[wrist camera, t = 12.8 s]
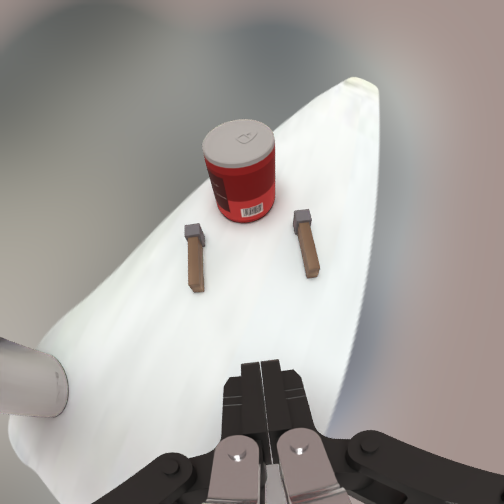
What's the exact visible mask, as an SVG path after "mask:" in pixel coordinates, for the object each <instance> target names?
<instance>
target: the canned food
mask: <svg viewBox="0 0 504 504" xmlns="http://www.w3.org/2000/svg"><path fill="white" fill-rule="evenodd" d="M203 153H204V158H205V162H206V166H207V170H208V173H209V177H210V181H211V184H212V188H213V191H214V195H215V198H216V202H217V205H218V208H219V210H220V211H221V212H222V214H223V215H224V216H225V217H227V218H228V219H230V220H232V221H235V222H241V223H246V222H252V221H255V220H258V219H260V218H262V217H263V216H265V215H266V214H267V213H268V212H269V210H270V209H271V207H272V205H273V203H274V200H275V140H274V134H273V132H272V130H271V129H270V128H269V127H268V126H267V125H265V124H263V123H261V122H258V121H255V120H249V119H240V120H233V121H229V122H226V123H223V124H221V125H219V126H217V127H215V128H214V129H212V130H211V131H210V132H209V133H208V134H207V136H206V137H205V139H204V141H203Z"/></svg>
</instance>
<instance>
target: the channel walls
mask: <svg viewBox="0 0 504 504" xmlns="http://www.w3.org/2000/svg"><path fill="white" fill-rule="evenodd" d="M298 239H299V243H300V248H301V252H302V257H303V262H304V267H305V271H306V276H307V278H313V277H317V275H318V272H319V270H320V265H319V261H318V257H317V253H316V248H315V244H314V240H313V236H312V232H311V228H310V224H309V222H305V223H299V227H298ZM188 285H189V286H190V288H191V289H192V290H193V292H194V293H195V292H204V278H203V251H202V245H201V242H200V240H199V238H198V236H197V237H190V238H188Z"/></svg>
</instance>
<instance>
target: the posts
mask: <svg viewBox="0 0 504 504" xmlns="http://www.w3.org/2000/svg"><path fill="white" fill-rule="evenodd" d="M311 221H312V218H311V215H310V211H309V209H306V210H297V211H294V220H293V227H294V231H295V234H298V227H299V223H305V222H309V224H310V226H311ZM197 236H198V238H199V240H200V242H201V245H202V247H203V246H205V241H204V234H203V231H202V229H201V227H200V224H199V223H197V224H190V225H185V238H186V240H187V242H188V238H190V237H197Z"/></svg>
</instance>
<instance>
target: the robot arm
mask: <svg viewBox="0 0 504 504" xmlns="http://www.w3.org/2000/svg"><path fill="white" fill-rule="evenodd" d="M261 369H262V377H261V371H260V364H259V362H253V363H244V364H241V376H239V377H229V379H228V381H227V382H226V384H225V385H224V392H223V412H222V434H221V440H220V442H219V444H218V445H217V446H216V448H215V449H214V450H212V451H211V452H209V453H207V454H204V455H200V456H196V457H193V458H189V459H188V458H187V457H186V456H184V455H182V454H180V453H165V454H162V455H160V456H159V457H157V458H156V459H155V460H153V461H152V462H151V463H149V464H148V465H147V466H145V467H144V468H143V469H141V470H140V471H139V472H137V473H136V474H135V475H133V476H132V477H130V478H129V479H128V480H126V481H125V482H123V483H122V484H121V485H119V486H118V487H116V488H115V489H113V490H112V491H110V492H109V493H107V494H106V495H104V496H103V497H101V498H100V499H98V500H97V501H95V502H93V503H92V504H266V481H267V472H266V465H270V464H272V463H271V454H270V445H271V451H272V457H273V464H278V463H279V468H280V475H281V482H282V487H283V491H284V495H285V499H286V503H287V504H351V501H350V499H349V496H348V495H350V496H352V497H353V498H355V499H357V500H359V501H361V502H363V503H365V504H504V475H500V474H496V473H492V472H488V471H485V470H481V469H478V468H474V467H470V466H467V465H464V464H461V463H458V462H455V461H452V460H449V459H446V458H443V457H440V456H438V455H435V454H432V453H430V452H427V451H424V450H422V449H419V448H417V447H414V446H412V445H409V444H407V443H404V442H402V441H400V440H397V439H395V438H393V437H390V436H388V435H386V434H384V433H381V432H378V431H375V430H367V431H363V432H360V433H358V434H356V435H355V436H353V437H352V438H351V439H332V438H328V437H325V436H323V435H322V434H320V433H319V432H318V431H317V430H316V428H315V426H314V423H313V419H312V416H311V412H310V408H309V405H308V401H307V397H306V394H305V390H304V386H303V383H302V379H301V377H300V376H299V375H298V374H297V373H296V372H295V371H294V370H287V371H281V368H280V363H279V359H276V360H268V361H261ZM262 378H263V384H262ZM263 387H264V392H263ZM264 396H265V400H264ZM67 397H68V384H67V379H66V375H65V372H64V370H63V368H62V366H61V364H60V363H59V362H58V360H57V359H56V358H54V357H53V356H51V355H49V354H46V353H43V352H40V351H37V350H34V349H31V348H28V347H25V346H23V345H20V344H17V343H15V342H12V341H9V340H7V339H4V338H2V337H0V413H2V414H11V415H22V416H34V417H55V416H57V415H59V414H60V413H61V412H62V411H63V409H64V408H65V405H66V403H67ZM265 405H266V409H265ZM266 414H267V418H266ZM267 423H268V427H267ZM268 432H269V436H268ZM269 438H270V445H269Z"/></svg>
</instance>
